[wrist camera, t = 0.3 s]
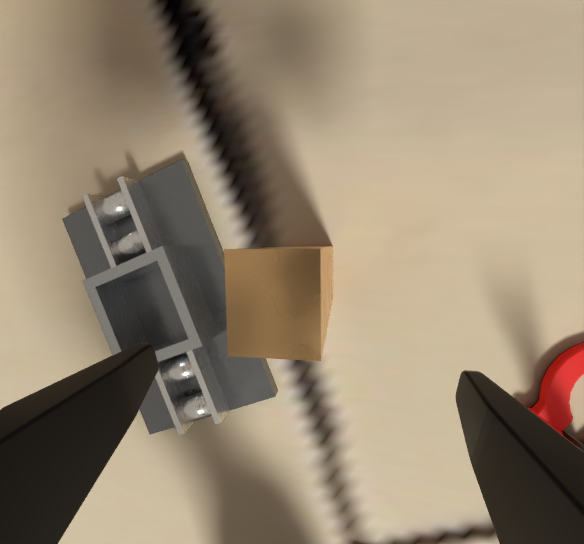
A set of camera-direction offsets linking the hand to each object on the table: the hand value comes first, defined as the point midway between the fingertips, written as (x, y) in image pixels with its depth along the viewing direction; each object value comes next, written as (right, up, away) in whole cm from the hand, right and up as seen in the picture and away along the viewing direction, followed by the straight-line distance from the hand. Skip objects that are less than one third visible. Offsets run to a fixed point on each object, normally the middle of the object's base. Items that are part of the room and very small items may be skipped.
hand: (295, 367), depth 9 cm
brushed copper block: (+1, +3, +15) cm, 15 cm away
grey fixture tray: (-10, 0, +17) cm, 20 cm away
